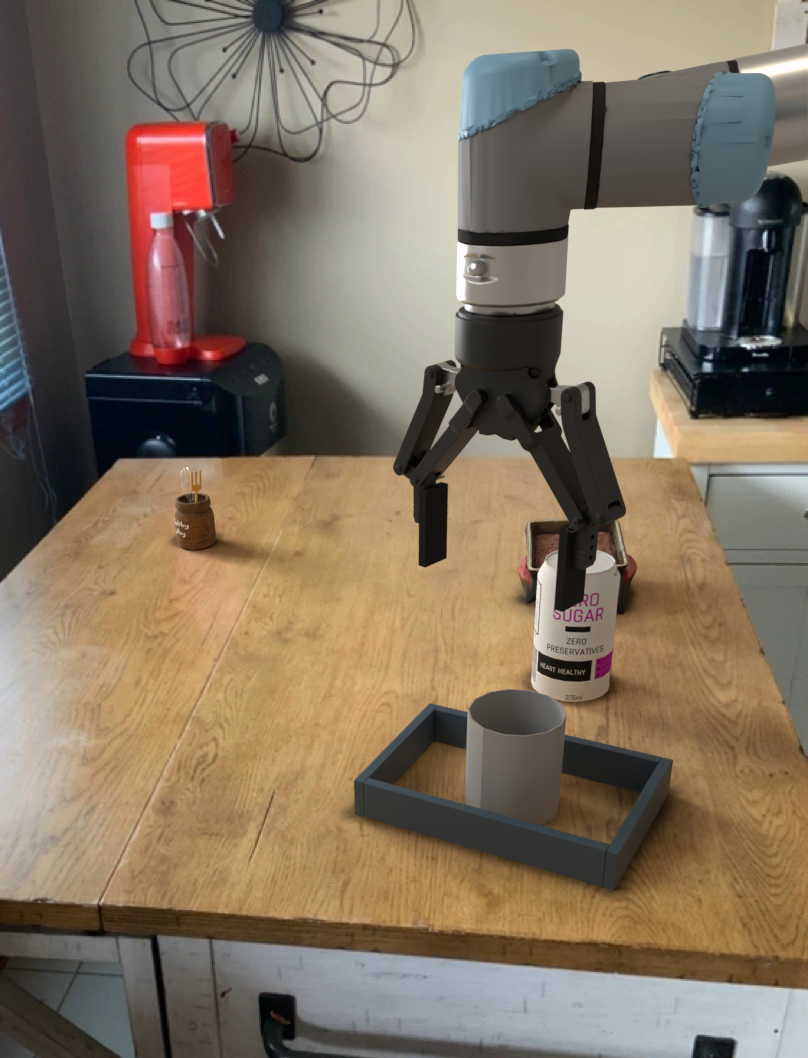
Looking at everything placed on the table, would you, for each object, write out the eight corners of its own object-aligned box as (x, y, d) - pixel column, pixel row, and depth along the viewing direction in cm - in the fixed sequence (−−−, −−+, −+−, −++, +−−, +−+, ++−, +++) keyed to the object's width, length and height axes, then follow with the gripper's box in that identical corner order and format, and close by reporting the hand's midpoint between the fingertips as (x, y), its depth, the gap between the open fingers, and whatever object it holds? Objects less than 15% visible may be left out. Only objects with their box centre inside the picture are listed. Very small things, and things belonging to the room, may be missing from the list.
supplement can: (582, 666, 127) (593, 540, 120) (623, 698, 120) (637, 567, 113) (517, 680, 125) (524, 553, 118) (555, 714, 118) (565, 581, 111)
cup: (535, 775, 108) (542, 683, 103) (574, 823, 101) (582, 726, 96) (451, 790, 106) (454, 697, 101) (484, 839, 99) (488, 742, 94)
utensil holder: (209, 533, 172) (202, 456, 166) (222, 546, 167) (215, 467, 161) (172, 540, 170) (163, 462, 164) (184, 554, 165) (176, 474, 159)
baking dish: (508, 629, 141) (517, 560, 135) (521, 556, 154) (530, 490, 148) (627, 643, 138) (642, 574, 132) (630, 568, 151) (644, 501, 145)
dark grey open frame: (667, 800, 104) (673, 759, 101) (613, 897, 92) (618, 854, 90) (429, 740, 115) (429, 702, 113) (354, 820, 104) (353, 780, 102)
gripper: (346, 297, 86) (353, 558, 96) (634, 332, 69) (604, 642, 80) (413, 282, 90) (412, 534, 101) (699, 311, 73) (663, 609, 84)
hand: (497, 582), depth 90 cm, fingers open, 13 cm apart
